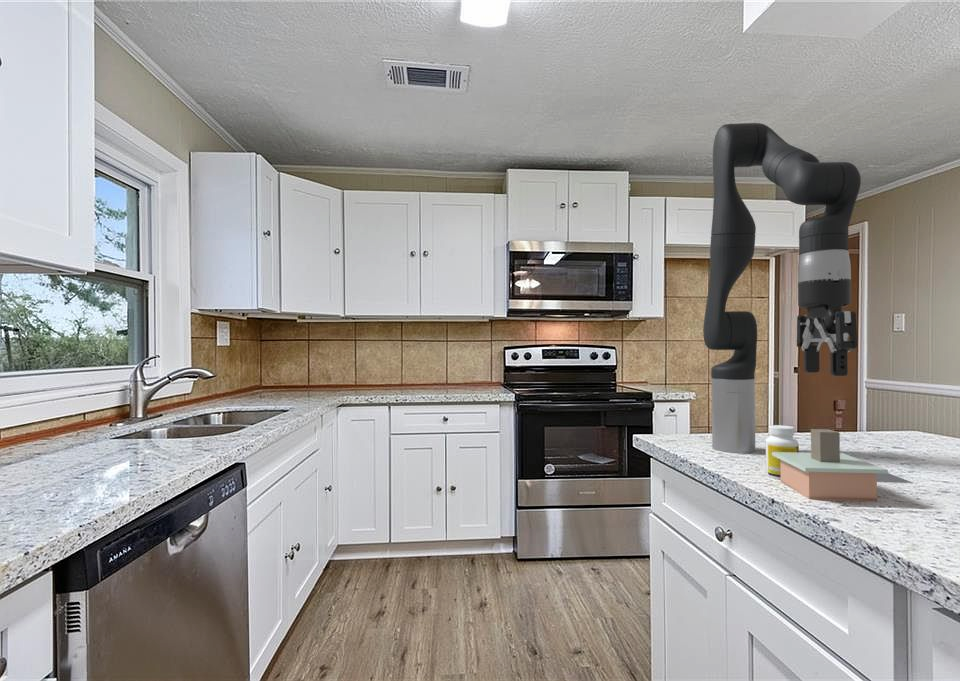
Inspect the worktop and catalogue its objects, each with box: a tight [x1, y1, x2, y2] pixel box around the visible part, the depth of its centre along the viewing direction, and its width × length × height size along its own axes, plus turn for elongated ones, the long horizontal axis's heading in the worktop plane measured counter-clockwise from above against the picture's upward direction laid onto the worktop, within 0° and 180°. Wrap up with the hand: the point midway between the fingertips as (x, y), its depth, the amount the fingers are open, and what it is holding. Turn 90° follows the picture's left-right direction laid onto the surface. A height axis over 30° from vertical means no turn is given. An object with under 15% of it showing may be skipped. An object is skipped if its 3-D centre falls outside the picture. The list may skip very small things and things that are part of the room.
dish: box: [780, 459, 878, 502], centre depth 85 cm, size 10×10×5 cm
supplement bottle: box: [765, 424, 800, 481], centre depth 95 cm, size 5×5×10 cm
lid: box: [772, 428, 889, 474], centre depth 85 cm, size 12×12×6 cm
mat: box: [877, 472, 914, 484], centre depth 96 cm, size 12×12×1 cm
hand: (824, 373), depth 86 cm, fingers open, 8 cm apart
